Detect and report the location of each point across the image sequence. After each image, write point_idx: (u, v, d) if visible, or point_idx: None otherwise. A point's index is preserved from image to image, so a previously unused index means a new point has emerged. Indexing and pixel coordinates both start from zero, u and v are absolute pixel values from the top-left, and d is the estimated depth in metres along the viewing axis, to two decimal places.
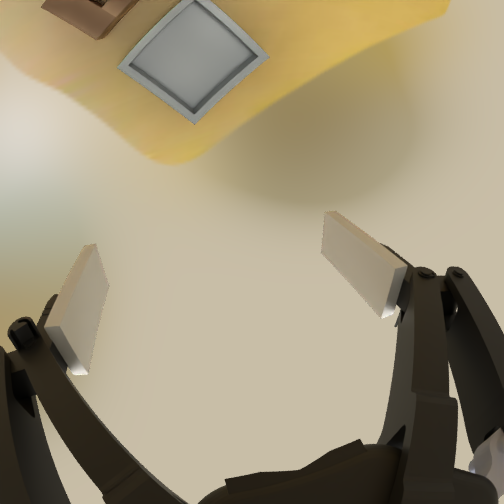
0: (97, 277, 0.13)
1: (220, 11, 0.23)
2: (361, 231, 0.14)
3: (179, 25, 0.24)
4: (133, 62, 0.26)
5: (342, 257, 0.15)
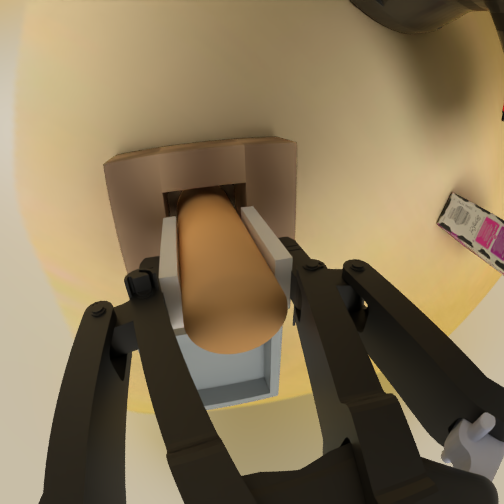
0: None
1: (278, 349, 0.26)
2: (264, 224, 0.14)
3: None
4: None
5: None
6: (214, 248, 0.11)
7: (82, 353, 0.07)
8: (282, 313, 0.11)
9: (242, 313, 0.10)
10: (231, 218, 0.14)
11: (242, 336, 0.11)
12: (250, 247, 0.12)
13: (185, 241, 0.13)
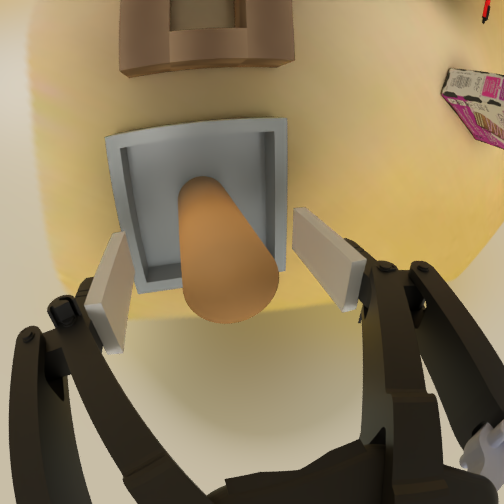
0: (126, 263, 0.14)
1: (284, 174, 0.21)
2: (325, 226, 0.14)
3: (220, 147, 0.21)
4: (128, 146, 0.19)
5: (309, 252, 0.15)
6: (211, 224, 0.12)
7: (21, 379, 0.06)
8: (274, 282, 0.12)
9: (237, 280, 0.11)
10: (228, 203, 0.16)
11: (237, 304, 0.12)
12: (244, 224, 0.13)
13: (185, 223, 0.14)
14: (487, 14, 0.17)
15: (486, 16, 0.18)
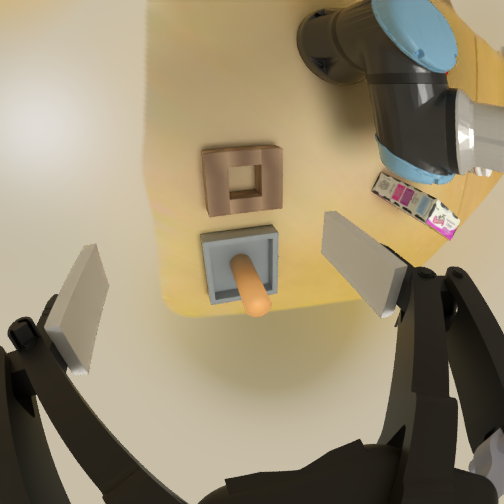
0: (97, 277, 0.13)
1: (276, 254, 0.51)
2: (361, 231, 0.14)
3: (249, 241, 0.51)
4: None
5: (342, 257, 0.15)
6: (252, 288, 0.42)
7: None
8: (270, 305, 0.42)
9: (259, 305, 0.41)
10: (255, 276, 0.45)
11: (259, 311, 0.42)
12: (261, 287, 0.43)
13: (241, 284, 0.44)
14: None
15: None
